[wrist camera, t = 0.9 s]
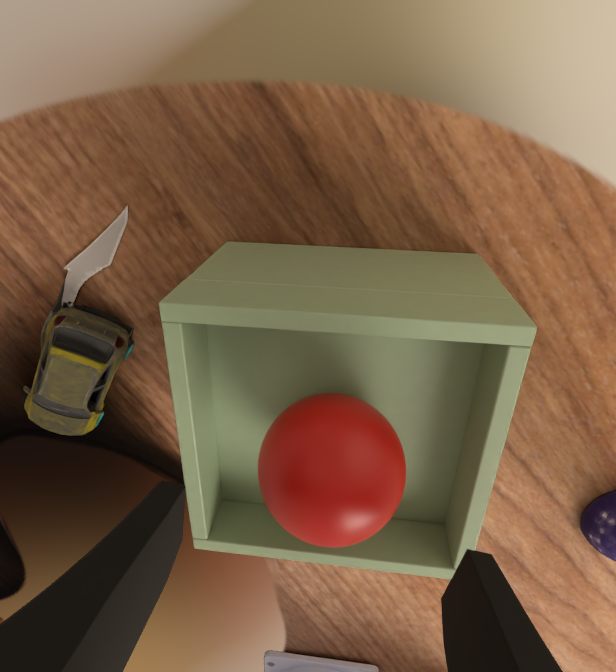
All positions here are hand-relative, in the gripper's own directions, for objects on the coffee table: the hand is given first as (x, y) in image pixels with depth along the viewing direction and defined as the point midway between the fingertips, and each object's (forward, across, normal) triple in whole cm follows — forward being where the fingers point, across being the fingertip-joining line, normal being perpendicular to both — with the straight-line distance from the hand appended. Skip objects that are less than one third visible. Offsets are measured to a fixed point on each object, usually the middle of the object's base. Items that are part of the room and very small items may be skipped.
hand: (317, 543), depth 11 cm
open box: (+10, 0, 0) cm, 10 cm away
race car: (+10, +12, +4) cm, 16 cm away
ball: (+3, 0, 0) cm, 3 cm away
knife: (+10, +10, +2) cm, 15 cm away
